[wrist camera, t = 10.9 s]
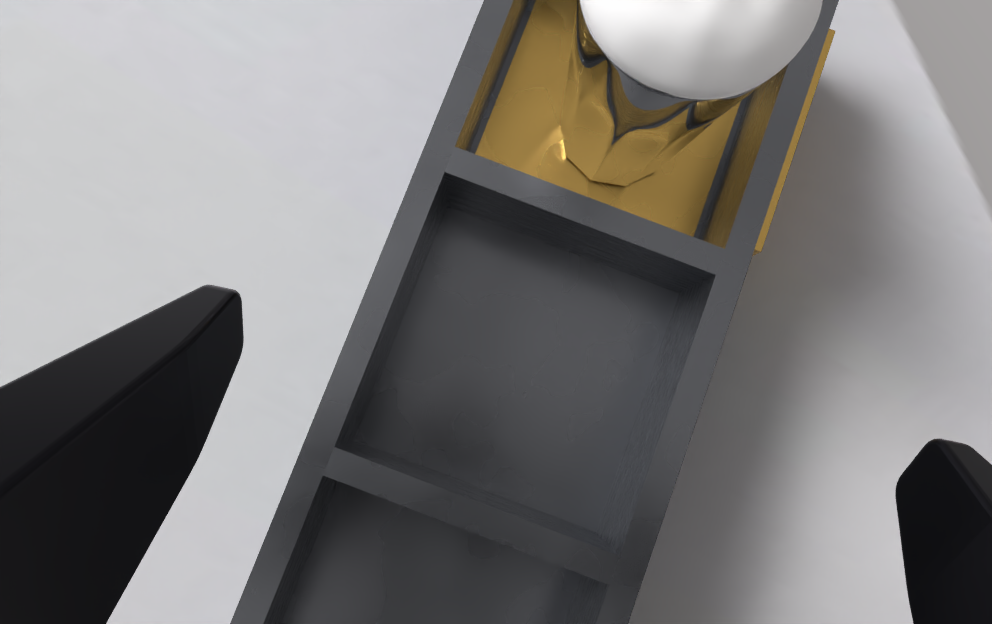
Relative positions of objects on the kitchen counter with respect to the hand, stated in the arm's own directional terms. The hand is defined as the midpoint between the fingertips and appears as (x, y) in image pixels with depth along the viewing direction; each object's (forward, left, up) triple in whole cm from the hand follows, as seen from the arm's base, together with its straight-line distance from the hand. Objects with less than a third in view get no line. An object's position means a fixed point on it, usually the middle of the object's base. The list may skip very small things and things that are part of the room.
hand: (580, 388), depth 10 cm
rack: (+1, 0, -12) cm, 12 cm away
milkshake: (+9, 0, -11) cm, 14 cm away
